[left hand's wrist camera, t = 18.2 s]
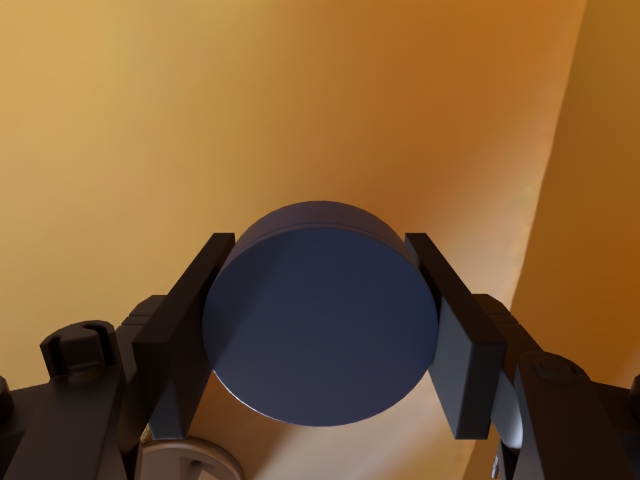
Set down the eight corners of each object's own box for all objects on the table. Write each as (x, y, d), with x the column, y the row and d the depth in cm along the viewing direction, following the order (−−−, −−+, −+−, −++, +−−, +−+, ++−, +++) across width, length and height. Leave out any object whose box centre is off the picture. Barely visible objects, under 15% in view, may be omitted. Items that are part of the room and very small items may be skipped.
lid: (227, 368, 13) (209, 424, 11) (217, 196, 11) (191, 222, 9) (404, 374, 13) (421, 430, 11) (429, 204, 11) (458, 232, 9)
